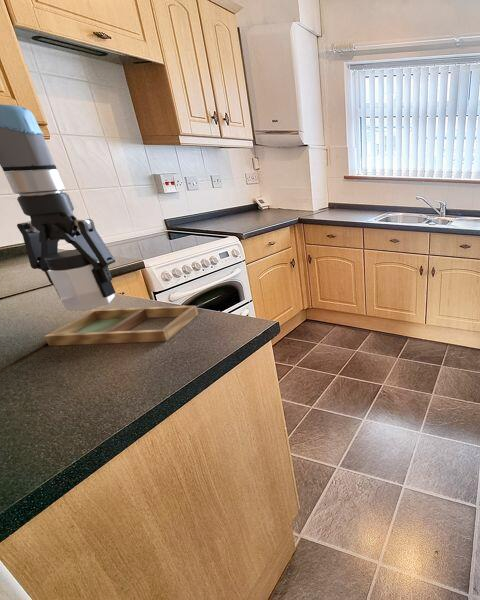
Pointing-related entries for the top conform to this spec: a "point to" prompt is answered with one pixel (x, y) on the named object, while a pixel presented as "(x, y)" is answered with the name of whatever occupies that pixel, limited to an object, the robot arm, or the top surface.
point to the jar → (75, 281)
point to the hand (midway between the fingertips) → (88, 295)
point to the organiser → (120, 326)
